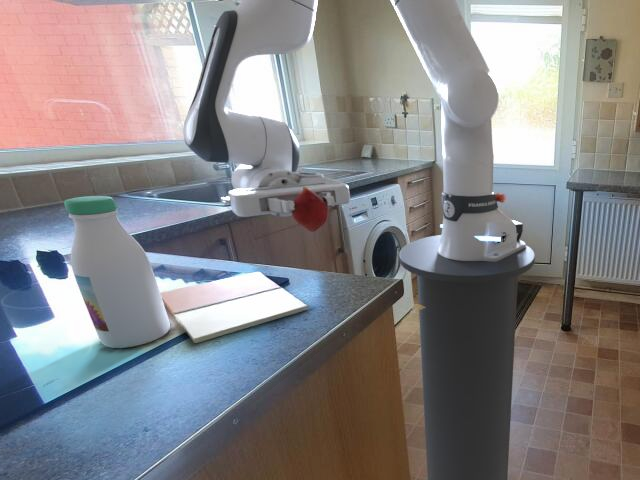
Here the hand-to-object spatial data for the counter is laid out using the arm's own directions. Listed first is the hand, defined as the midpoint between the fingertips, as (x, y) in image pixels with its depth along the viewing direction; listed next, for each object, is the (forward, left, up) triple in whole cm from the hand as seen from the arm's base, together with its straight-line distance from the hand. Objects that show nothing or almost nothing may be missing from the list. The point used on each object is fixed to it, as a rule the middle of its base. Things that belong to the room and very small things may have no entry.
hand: (311, 204), depth 71 cm
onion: (0, -1, -5) cm, 5 cm away
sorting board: (+14, -4, -16) cm, 22 cm away
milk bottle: (+27, -1, -16) cm, 32 cm away
